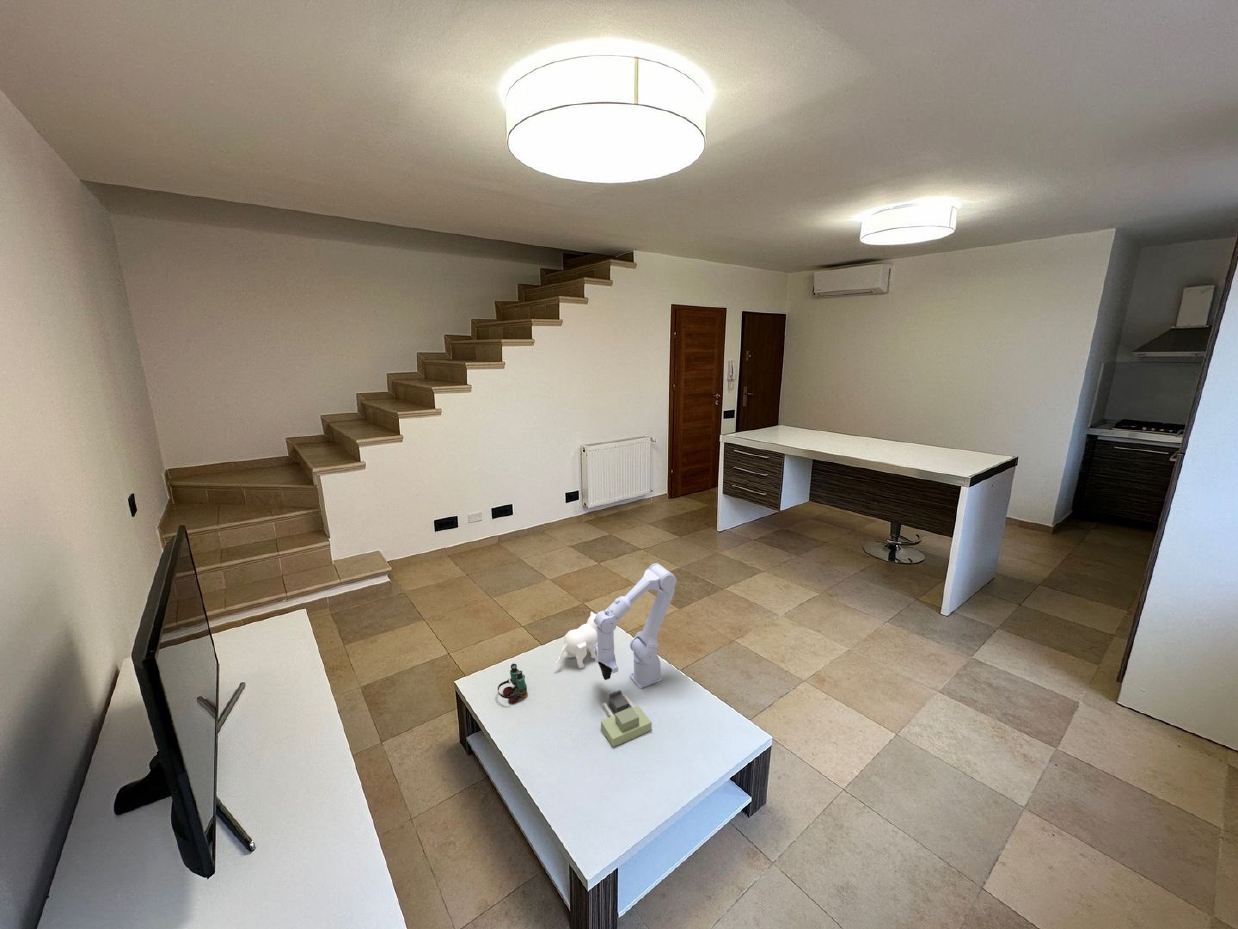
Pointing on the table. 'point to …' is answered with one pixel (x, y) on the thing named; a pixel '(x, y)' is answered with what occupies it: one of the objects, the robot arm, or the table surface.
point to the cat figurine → (581, 641)
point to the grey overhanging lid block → (617, 702)
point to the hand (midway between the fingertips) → (606, 678)
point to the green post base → (625, 724)
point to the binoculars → (515, 685)
